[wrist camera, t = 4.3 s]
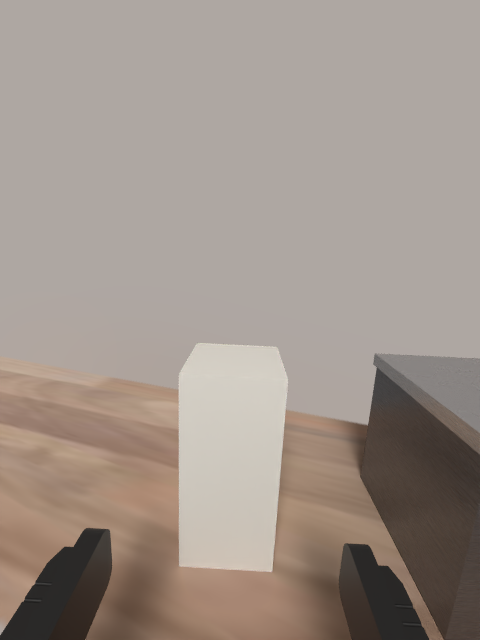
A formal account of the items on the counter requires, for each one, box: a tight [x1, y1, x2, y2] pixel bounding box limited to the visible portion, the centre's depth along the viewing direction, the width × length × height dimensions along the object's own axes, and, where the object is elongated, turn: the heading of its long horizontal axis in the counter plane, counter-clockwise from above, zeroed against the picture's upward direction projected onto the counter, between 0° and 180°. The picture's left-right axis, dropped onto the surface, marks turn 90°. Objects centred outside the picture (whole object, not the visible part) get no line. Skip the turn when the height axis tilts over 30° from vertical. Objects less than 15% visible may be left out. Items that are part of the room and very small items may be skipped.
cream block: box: [179, 343, 288, 572], centre depth 17 cm, size 5×5×11 cm
